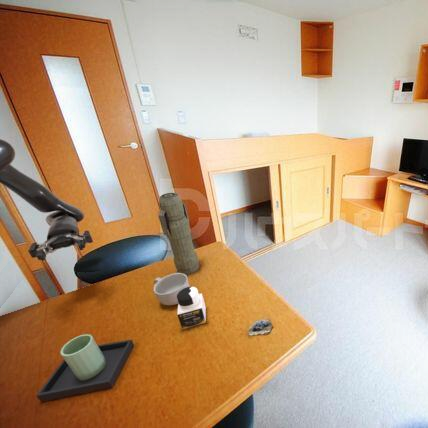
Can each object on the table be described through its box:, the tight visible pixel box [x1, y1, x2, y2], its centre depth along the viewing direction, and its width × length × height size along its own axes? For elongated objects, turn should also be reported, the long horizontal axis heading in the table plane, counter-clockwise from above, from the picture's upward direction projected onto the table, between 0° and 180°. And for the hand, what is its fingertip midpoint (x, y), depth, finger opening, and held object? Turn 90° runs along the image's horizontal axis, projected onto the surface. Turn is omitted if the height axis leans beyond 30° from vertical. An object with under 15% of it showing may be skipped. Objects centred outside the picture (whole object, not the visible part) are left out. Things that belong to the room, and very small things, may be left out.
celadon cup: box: [59, 333, 106, 380], centre depth 63 cm, size 6×6×10 cm
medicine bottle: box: [176, 286, 207, 330], centre depth 79 cm, size 7×7×12 cm
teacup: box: [153, 272, 191, 306], centre depth 88 cm, size 14×11×8 cm
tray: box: [35, 339, 135, 402], centre depth 65 cm, size 15×12×3 cm
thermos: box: [157, 192, 200, 276], centre depth 98 cm, size 9×12×35 cm
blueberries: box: [247, 318, 274, 336], centre depth 78 cm, size 7×8×2 cm
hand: (61, 252), depth 74 cm, fingers open, 8 cm apart
